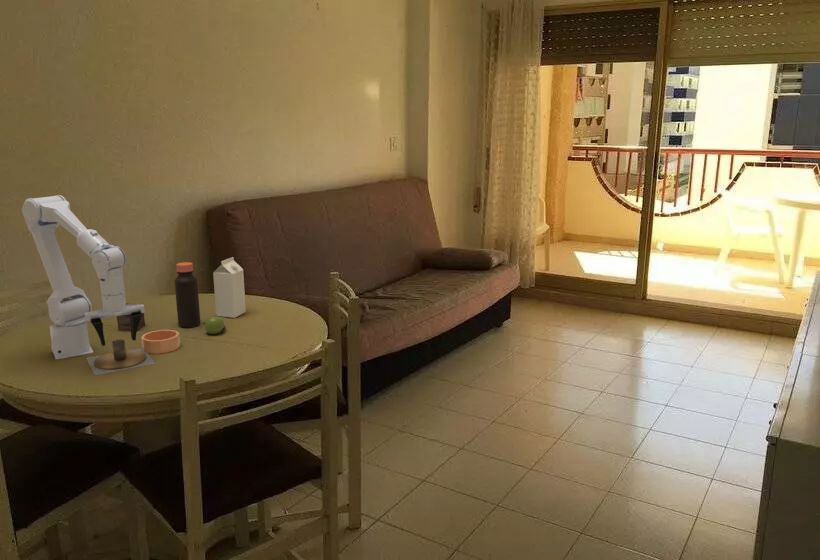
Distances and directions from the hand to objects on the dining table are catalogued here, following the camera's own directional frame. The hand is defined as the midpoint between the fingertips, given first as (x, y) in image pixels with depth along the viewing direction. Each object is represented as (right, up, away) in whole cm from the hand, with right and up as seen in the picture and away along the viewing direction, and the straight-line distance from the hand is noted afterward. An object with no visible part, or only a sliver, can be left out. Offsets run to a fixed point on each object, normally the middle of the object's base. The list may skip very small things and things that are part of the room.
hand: (118, 342), depth 180 cm
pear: (+18, +1, +28) cm, 33 cm away
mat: (0, -6, +1) cm, 6 cm away
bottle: (+8, +2, +34) cm, 34 cm away
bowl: (+7, -3, +12) cm, 14 cm away
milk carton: (+18, +5, +45) cm, 49 cm away
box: (-9, +1, +31) cm, 32 cm away
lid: (0, -5, +1) cm, 5 cm away
